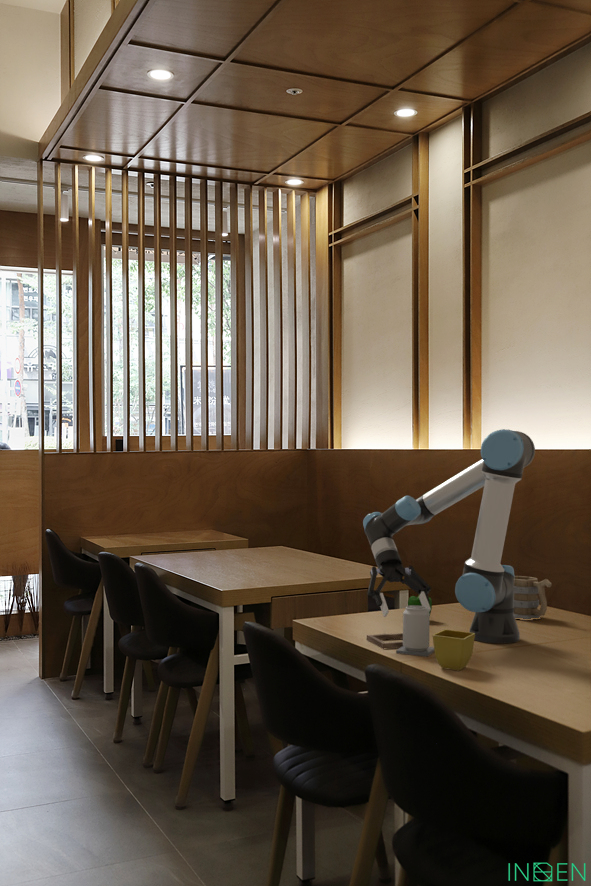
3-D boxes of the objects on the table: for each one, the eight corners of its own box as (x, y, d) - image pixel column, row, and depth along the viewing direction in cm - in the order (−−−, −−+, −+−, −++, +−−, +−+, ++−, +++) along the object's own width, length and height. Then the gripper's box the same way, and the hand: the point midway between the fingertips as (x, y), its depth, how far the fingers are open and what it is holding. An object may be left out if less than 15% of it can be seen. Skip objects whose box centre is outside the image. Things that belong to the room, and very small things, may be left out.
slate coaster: (435, 650, 238) (435, 647, 238) (427, 656, 230) (427, 653, 230) (405, 647, 242) (405, 644, 242) (396, 653, 234) (396, 650, 234)
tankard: (496, 615, 297) (496, 573, 297) (524, 613, 302) (524, 572, 302) (534, 625, 279) (534, 580, 279) (563, 623, 284) (563, 579, 284)
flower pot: (463, 674, 211) (463, 638, 212) (431, 669, 216) (431, 634, 216) (475, 667, 219) (475, 633, 219) (444, 662, 223) (444, 629, 224)
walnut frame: (403, 637, 255) (403, 633, 255) (421, 646, 243) (421, 641, 243) (366, 639, 251) (366, 634, 251) (382, 648, 239) (382, 643, 239)
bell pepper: (401, 619, 285) (402, 590, 285) (417, 617, 290) (417, 588, 291) (421, 623, 279) (421, 593, 279) (436, 620, 284) (436, 591, 285)
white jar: (428, 652, 232) (429, 609, 232) (401, 650, 233) (402, 608, 233) (429, 646, 239) (430, 605, 239) (403, 645, 240) (404, 603, 241)
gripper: (418, 562, 263) (440, 618, 248) (345, 564, 255) (364, 622, 240) (426, 547, 258) (449, 603, 243) (352, 549, 250) (372, 607, 235)
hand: (407, 613), depth 242 cm, fingers open, 13 cm apart
